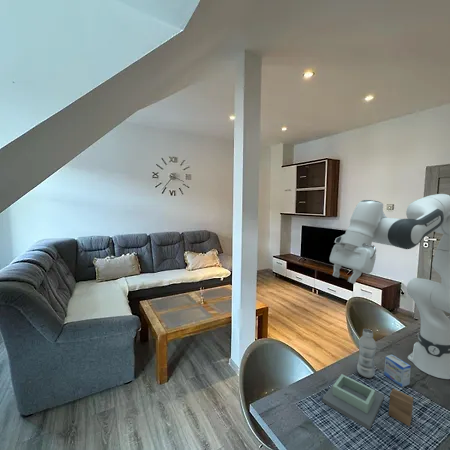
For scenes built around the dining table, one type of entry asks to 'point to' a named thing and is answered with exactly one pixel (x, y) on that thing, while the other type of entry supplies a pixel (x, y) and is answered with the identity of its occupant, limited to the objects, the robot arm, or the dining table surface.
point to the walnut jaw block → (401, 406)
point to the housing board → (354, 400)
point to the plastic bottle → (366, 354)
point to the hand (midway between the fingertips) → (342, 279)
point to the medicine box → (397, 370)
